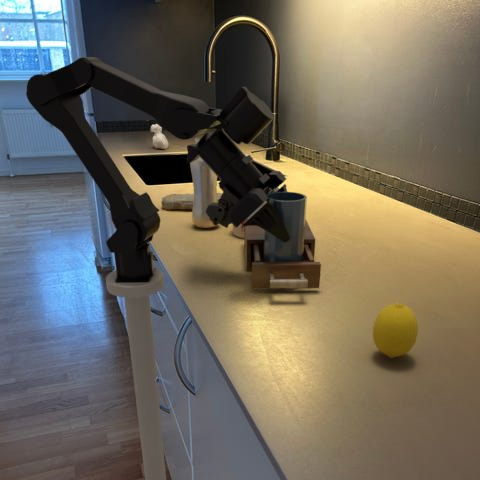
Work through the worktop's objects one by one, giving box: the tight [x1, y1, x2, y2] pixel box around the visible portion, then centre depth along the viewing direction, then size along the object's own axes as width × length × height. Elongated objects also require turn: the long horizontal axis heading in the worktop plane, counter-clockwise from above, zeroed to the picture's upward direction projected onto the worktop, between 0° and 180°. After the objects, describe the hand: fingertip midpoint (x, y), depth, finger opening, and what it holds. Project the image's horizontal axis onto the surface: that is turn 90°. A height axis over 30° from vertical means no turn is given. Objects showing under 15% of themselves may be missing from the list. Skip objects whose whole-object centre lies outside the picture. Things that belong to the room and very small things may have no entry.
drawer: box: [251, 243, 322, 290], centre depth 89 cm, size 18×11×4 cm, turn 1°
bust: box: [150, 123, 169, 150], centre depth 224 cm, size 12×8×11 cm
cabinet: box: [243, 219, 316, 272], centre depth 101 cm, size 15×13×6 cm
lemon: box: [372, 302, 419, 359], centre depth 66 cm, size 6×6×8 cm
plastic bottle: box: [189, 136, 218, 229], centre depth 116 cm, size 6×7×20 cm
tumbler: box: [263, 191, 308, 262], centre depth 87 cm, size 7×7×13 cm
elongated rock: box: [160, 192, 223, 211], centre depth 136 cm, size 35×5×10 cm
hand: (292, 234), depth 87 cm, fingers closed on tumbler, 7 cm apart
